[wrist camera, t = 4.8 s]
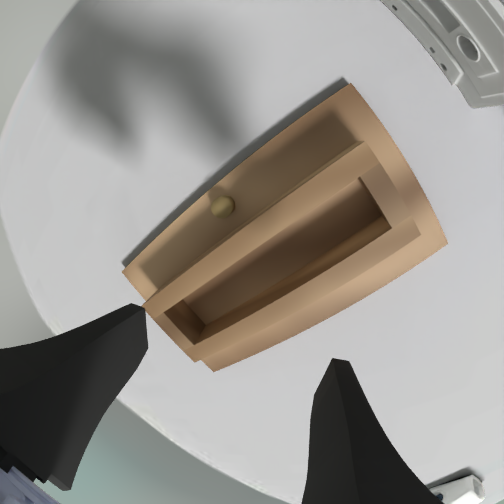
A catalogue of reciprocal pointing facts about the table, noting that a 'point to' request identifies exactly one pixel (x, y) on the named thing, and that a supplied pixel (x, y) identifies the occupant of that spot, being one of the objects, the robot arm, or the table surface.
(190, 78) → the table surface
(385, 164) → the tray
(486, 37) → the cassette
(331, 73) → the table surface
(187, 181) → the table surface
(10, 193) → the table surface
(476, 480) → the white step stool
